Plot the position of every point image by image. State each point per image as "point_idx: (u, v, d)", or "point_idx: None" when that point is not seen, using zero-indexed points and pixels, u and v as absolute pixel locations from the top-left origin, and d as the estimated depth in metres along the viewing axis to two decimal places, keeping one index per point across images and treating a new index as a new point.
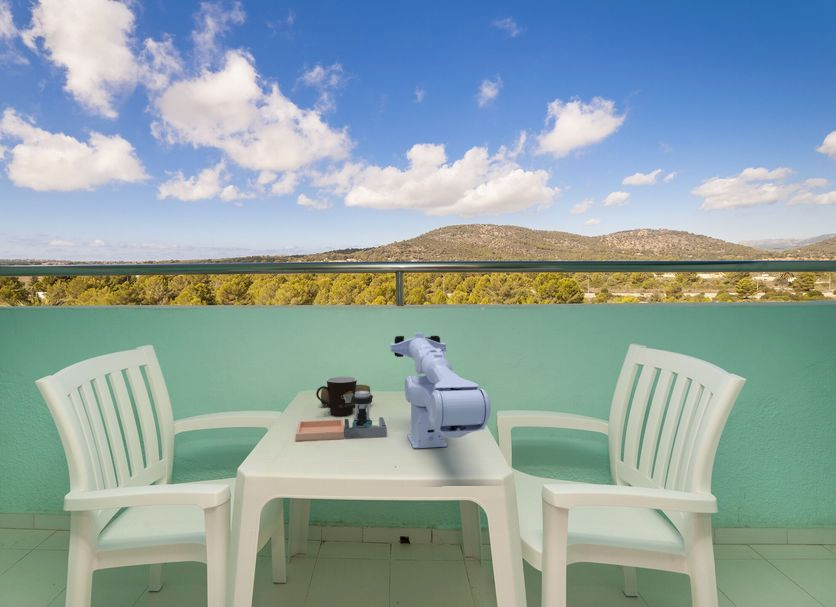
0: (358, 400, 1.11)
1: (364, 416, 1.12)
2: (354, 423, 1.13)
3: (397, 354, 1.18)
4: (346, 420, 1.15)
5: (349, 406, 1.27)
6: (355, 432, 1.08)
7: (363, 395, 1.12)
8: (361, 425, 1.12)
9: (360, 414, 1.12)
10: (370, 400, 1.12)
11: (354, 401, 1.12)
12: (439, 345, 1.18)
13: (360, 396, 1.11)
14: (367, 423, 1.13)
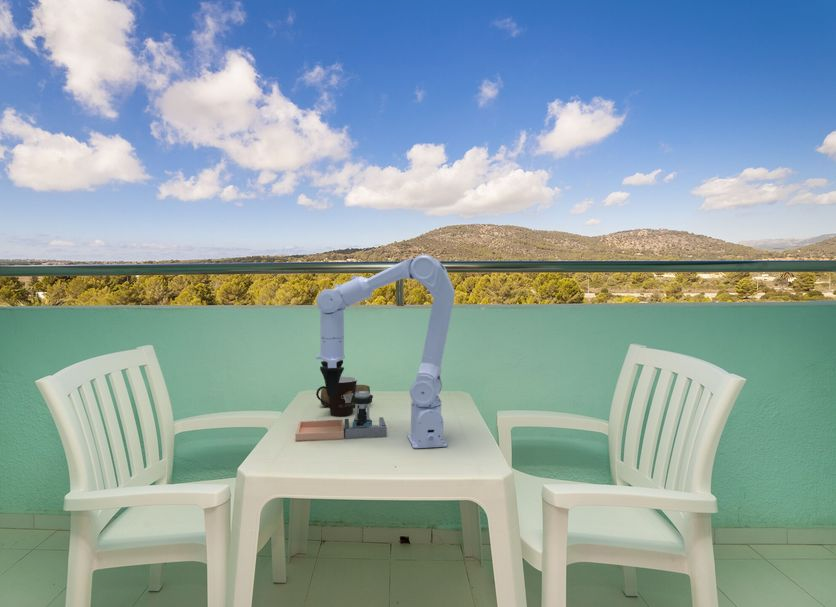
0: (358, 400, 1.11)
1: (364, 416, 1.12)
2: (354, 423, 1.13)
3: (341, 368, 1.07)
4: (346, 420, 1.15)
5: (349, 406, 1.27)
6: (355, 432, 1.08)
7: (363, 395, 1.12)
8: (361, 425, 1.12)
9: (360, 414, 1.12)
10: (370, 400, 1.12)
11: (354, 401, 1.12)
12: None
13: (360, 396, 1.11)
14: (367, 423, 1.13)
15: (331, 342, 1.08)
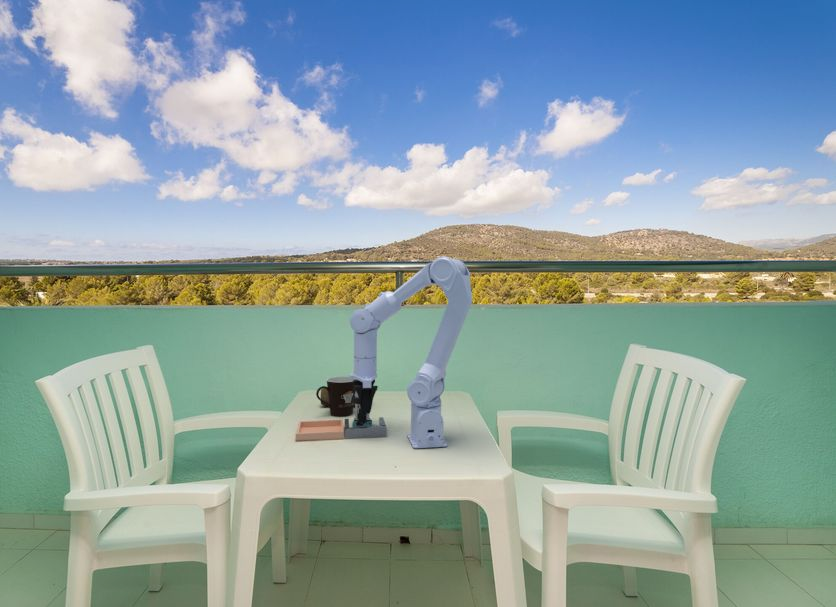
0: (358, 400, 1.11)
1: (364, 416, 1.12)
2: (354, 423, 1.13)
3: (375, 386, 1.09)
4: (346, 420, 1.15)
5: (349, 406, 1.27)
6: (355, 432, 1.08)
7: None
8: (361, 425, 1.12)
9: (360, 414, 1.12)
10: None
11: (354, 401, 1.12)
12: None
13: None
14: (367, 423, 1.13)
15: (365, 362, 1.10)
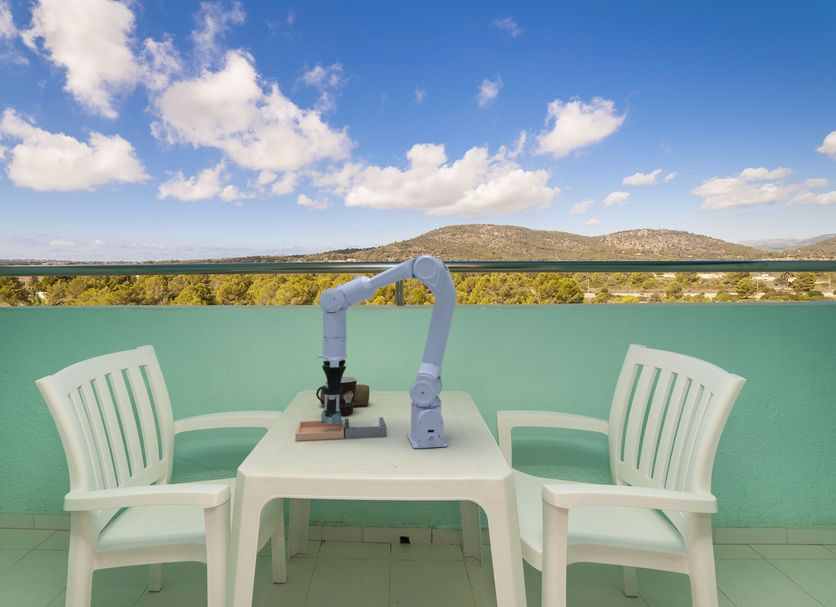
0: (327, 391, 1.09)
1: (333, 407, 1.11)
2: (323, 414, 1.11)
3: (343, 366, 1.08)
4: (346, 420, 1.15)
5: (349, 406, 1.27)
6: (355, 432, 1.08)
7: None
8: (330, 416, 1.11)
9: (329, 405, 1.11)
10: (340, 391, 1.11)
11: (323, 391, 1.10)
12: None
13: None
14: (336, 414, 1.11)
15: (333, 341, 1.09)
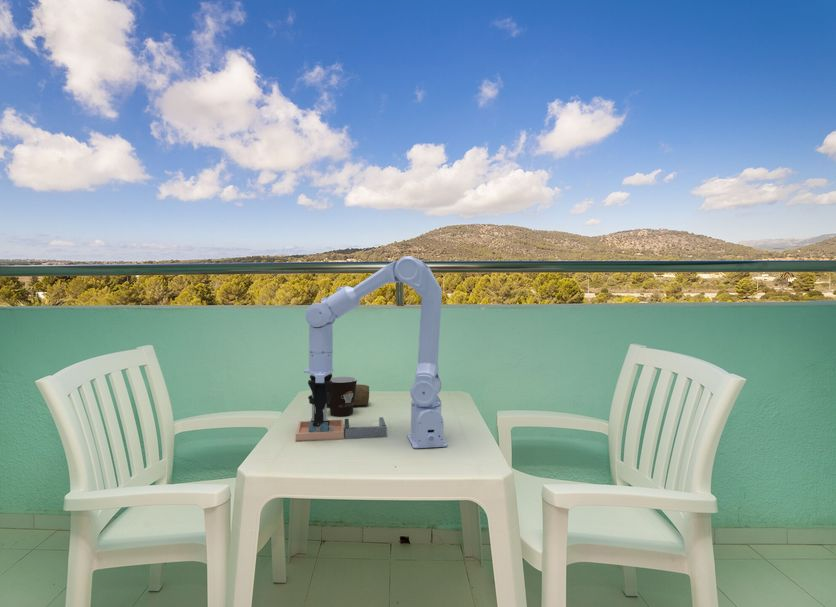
0: None
1: (321, 417, 1.10)
2: (311, 424, 1.10)
3: (329, 382, 1.07)
4: (346, 420, 1.15)
5: (349, 406, 1.27)
6: (355, 432, 1.08)
7: None
8: (318, 426, 1.10)
9: (317, 415, 1.10)
10: (327, 400, 1.10)
11: (310, 401, 1.10)
12: None
13: None
14: (324, 424, 1.10)
15: (319, 356, 1.08)
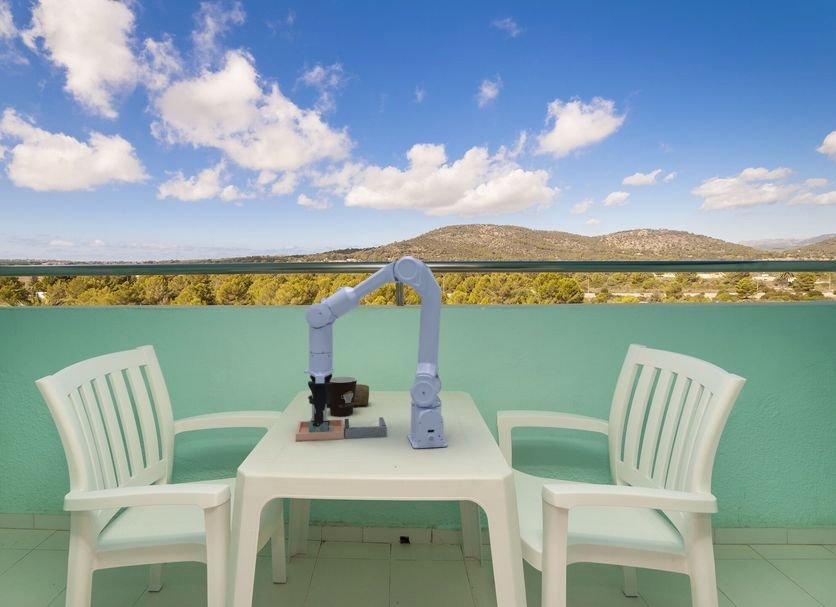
0: None
1: (321, 417, 1.10)
2: (311, 424, 1.10)
3: (329, 383, 1.06)
4: (346, 420, 1.15)
5: (349, 406, 1.27)
6: (355, 432, 1.08)
7: None
8: (317, 426, 1.10)
9: (317, 415, 1.10)
10: (327, 400, 1.10)
11: (310, 401, 1.10)
12: None
13: None
14: (324, 424, 1.10)
15: (319, 357, 1.08)
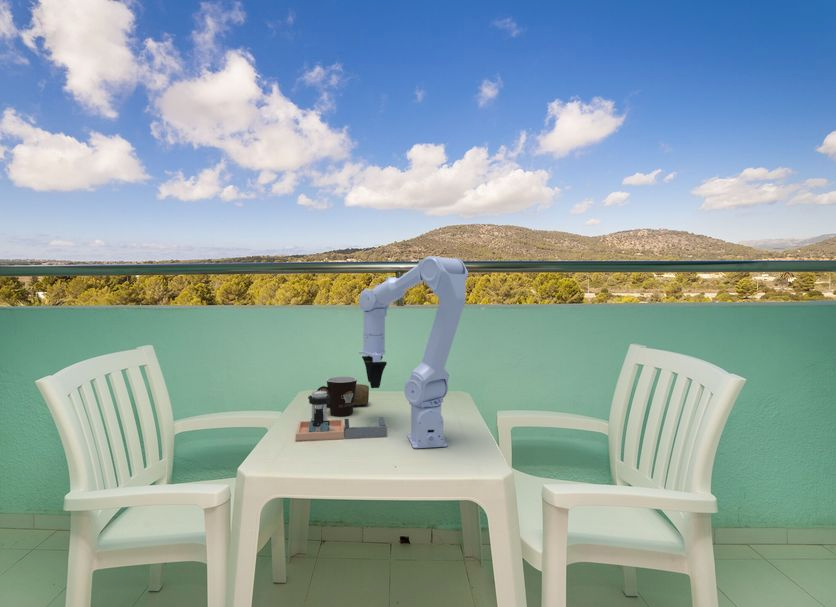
0: (314, 400, 1.09)
1: (321, 417, 1.10)
2: (311, 424, 1.10)
3: (384, 362, 1.15)
4: (346, 420, 1.15)
5: (349, 406, 1.27)
6: (355, 432, 1.08)
7: (319, 395, 1.09)
8: (317, 426, 1.10)
9: (317, 415, 1.10)
10: (327, 400, 1.10)
11: (310, 401, 1.10)
12: None
13: (316, 396, 1.09)
14: (324, 424, 1.10)
15: (374, 338, 1.17)
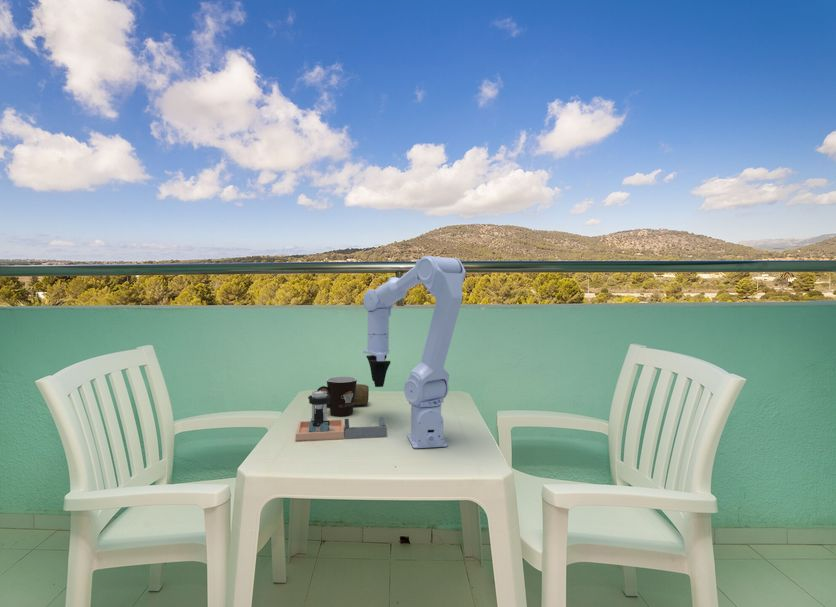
0: (314, 400, 1.09)
1: (321, 417, 1.10)
2: (311, 424, 1.10)
3: (388, 361, 1.17)
4: (346, 420, 1.15)
5: (349, 406, 1.27)
6: (355, 432, 1.08)
7: (319, 395, 1.09)
8: (318, 426, 1.10)
9: (317, 415, 1.10)
10: (327, 400, 1.10)
11: (310, 401, 1.10)
12: None
13: (316, 396, 1.09)
14: (324, 424, 1.10)
15: (378, 338, 1.19)
